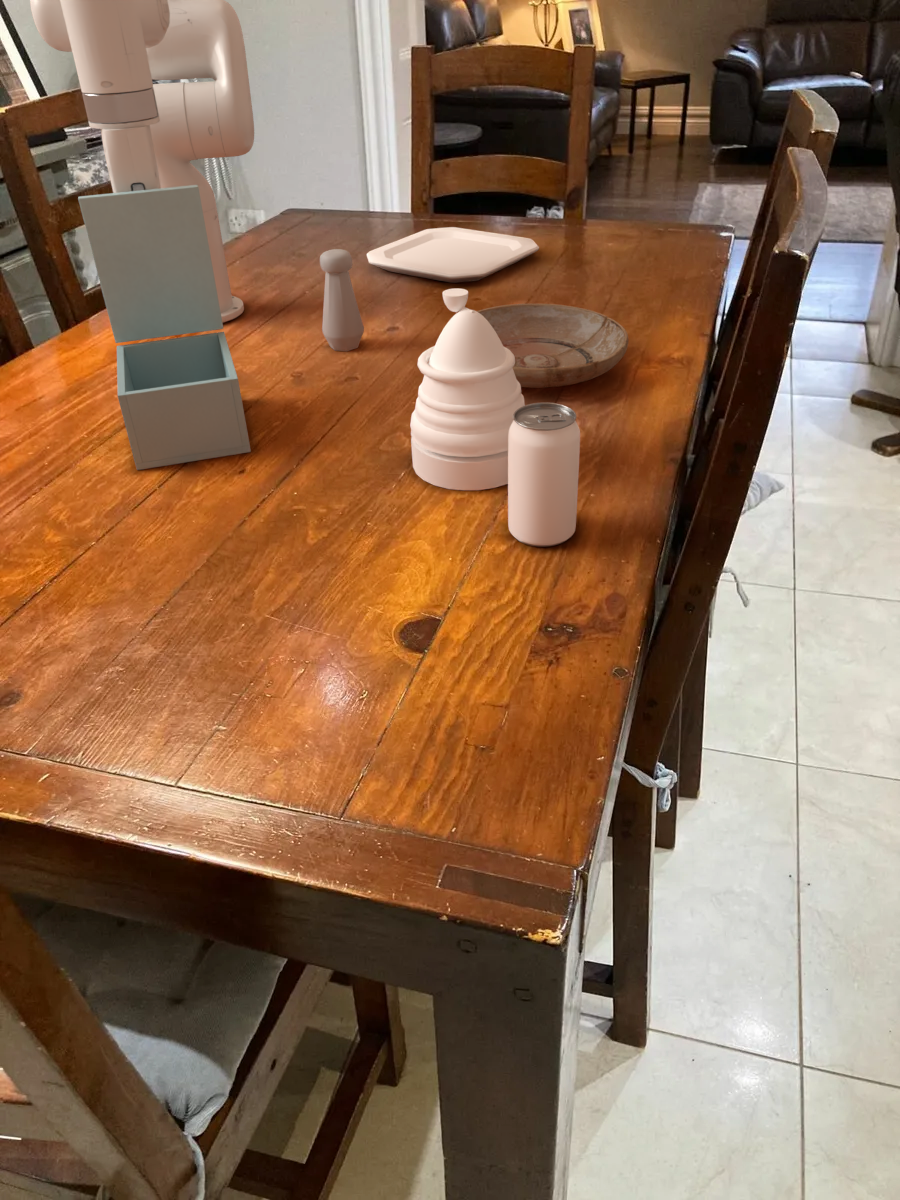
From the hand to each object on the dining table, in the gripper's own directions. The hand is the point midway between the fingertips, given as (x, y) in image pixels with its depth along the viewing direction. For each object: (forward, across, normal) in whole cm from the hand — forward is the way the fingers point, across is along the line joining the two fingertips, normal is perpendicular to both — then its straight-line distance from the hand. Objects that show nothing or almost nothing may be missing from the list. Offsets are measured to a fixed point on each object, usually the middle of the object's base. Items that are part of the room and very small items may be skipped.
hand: (158, 279), depth 112 cm
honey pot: (+15, +32, +29) cm, 45 cm away
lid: (-3, +6, 0) cm, 7 cm away
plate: (+14, -42, +49) cm, 66 cm away
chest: (+15, +13, 0) cm, 19 cm away
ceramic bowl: (+15, +10, +45) cm, 48 cm away
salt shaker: (+14, -8, +23) cm, 29 cm away
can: (+15, +48, +31) cm, 59 cm away
